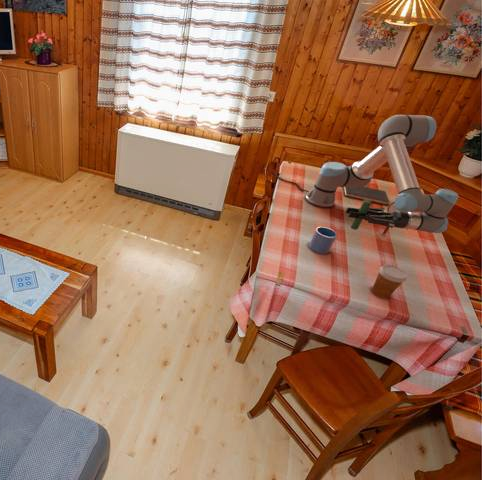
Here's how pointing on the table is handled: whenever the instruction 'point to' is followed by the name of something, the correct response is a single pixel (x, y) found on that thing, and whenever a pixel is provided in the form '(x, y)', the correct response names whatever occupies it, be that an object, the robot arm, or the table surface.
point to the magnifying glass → (392, 210)
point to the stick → (362, 209)
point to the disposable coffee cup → (388, 280)
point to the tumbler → (322, 240)
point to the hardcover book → (367, 194)
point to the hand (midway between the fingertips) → (348, 212)
